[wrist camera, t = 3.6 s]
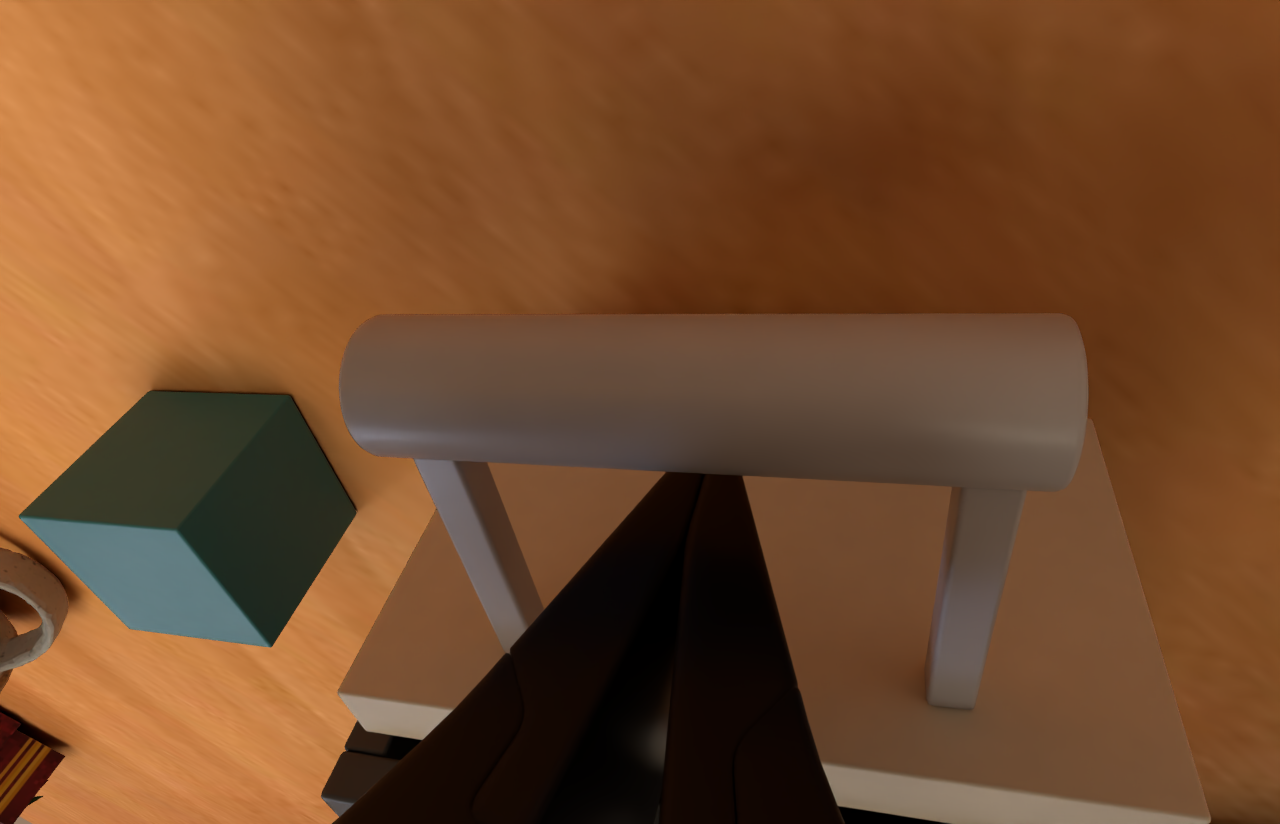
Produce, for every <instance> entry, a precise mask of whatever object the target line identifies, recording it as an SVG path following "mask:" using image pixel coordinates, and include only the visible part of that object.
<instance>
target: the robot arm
mask: <svg viewBox="0 0 1280 824" xmlns="http://www.w3.org/2000/svg"><path fill="white" fill-rule="evenodd" d="M661 792H662V793H661ZM660 796H661V803H660V814H659V824H845V822H844V820H843V818H842V815H841V813H840V810H839V808H838V805H837V803H836V800H835V797H834V795H833V792H832V790H831V787H830V784H829V782H828V779H827V777H826V774H825V771H824V769H823V766H822V764H821V760H820V757H819V754H818V751H817V747H816V744H815V741H814V738H813V734H812V731H811V728H810V725H809V721H808V718H807V714H806V710H805V707H804V703H803V699H802V695H801V692H800V690H799V688H798V682H797V678H796V674H795V670H794V667H793V663H792V659H791V655H790V652H789V648H788V644H787V640H786V637H785V633H784V629H783V626H782V622H781V618H780V614H779V611H778V607H777V603H776V599H775V596H774V592H773V588H772V584H771V581H770V577H769V573H768V569H767V566H766V562H765V558H764V555H763V551H762V547H761V543H760V540H759V536H758V532H757V528H756V525H755V521H754V517H753V513H752V510H751V506H750V502H749V498H748V495H747V491H746V487H745V484H744V480H743V476H740V475H721V474H702V473H683V472H665V473H664V475H663V476H662V477H661V478H660V479H659V480H658V481H657V483H656V484H655V485H654V486H653V487H652V488H651V489H650V490H649V492H648V493H647V494H646V495H645V496H644V497H643V498H642V500H641V501H640V502H639V503H638V504H637V505H636V506H635V507H634V509H633V510H632V511H631V512H630V513H629V514H628V515H627V516H626V518H625V519H624V520H623V521H622V522H621V523H620V524H619V526H618V527H617V528H616V529H615V530H614V531H613V532H612V533H611V535H610V536H609V537H608V538H607V539H606V540H605V541H604V542H603V544H602V545H601V546H600V547H599V548H598V549H597V550H596V552H595V553H594V554H593V555H592V556H591V557H590V558H589V559H588V561H587V562H586V563H585V564H584V565H583V566H582V567H581V568H580V570H579V571H578V572H577V573H576V574H575V575H574V576H573V578H572V579H571V580H570V581H569V582H568V583H567V584H566V585H565V587H564V588H563V589H562V590H561V591H560V592H559V593H558V595H557V596H556V597H555V598H554V599H553V600H552V601H551V602H550V604H549V605H548V606H547V607H546V608H545V609H544V610H543V611H542V613H541V614H540V615H539V616H538V617H537V618H536V619H535V621H534V622H533V623H532V624H531V625H530V626H529V627H528V628H527V630H526V631H525V632H524V633H523V634H522V635H521V636H520V637H519V639H518V640H517V641H516V642H515V643H514V644H513V645H512V647H511V648H510V654H509V653H505V654H504V655H503V656H502V657H501V659H500V660H499V661H498V662H497V663H496V664H495V665H494V667H493V668H492V669H491V670H490V671H489V672H488V673H487V674H486V676H485V677H484V678H483V679H482V680H481V681H480V682H479V683H478V684H477V685H476V686H475V687H474V688H473V689H472V691H471V692H470V693H469V694H468V695H467V696H466V697H465V698H464V699H463V700H462V701H461V702H460V703H459V704H458V706H457V707H456V708H455V709H454V710H453V711H452V712H451V713H450V714H449V715H448V716H446V717H445V718H444V719H443V720H442V721H441V722H440V723H439V724H438V725H437V726H436V727H435V728H434V729H433V730H432V731H431V732H430V733H429V734H428V735H427V736H426V737H425V738H424V739H423V740H422V741H421V742H420V743H419V744H418V745H416V746H415V747H414V748H413V749H412V750H411V751H410V752H409V753H408V754H407V755H406V756H405V757H404V758H402V759H401V760H400V761H399V762H398V763H397V764H396V765H395V766H394V767H393V768H392V769H391V770H390V771H388V772H387V773H386V774H385V775H384V776H383V777H382V778H381V779H380V780H379V781H378V782H377V783H376V784H374V785H373V786H372V787H371V788H370V789H369V790H368V791H367V792H366V793H365V794H364V795H363V796H361V797H360V798H359V799H358V800H357V801H356V802H355V803H354V804H353V805H352V806H351V807H350V808H349V809H347V810H346V811H345V812H344V813H343V814H342V815H341V816H340V817H339V818H338V819H337V820H336V821H334V822H333V823H332V824H654V821H655V816H656V812H657V808H658V804H659V800H660Z"/></svg>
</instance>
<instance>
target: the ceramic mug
mask: <svg viewBox="0 0 1280 824" xmlns="http://www.w3.org/2000/svg"><path fill="white" fill-rule="evenodd" d="M0 589H3V590H6V591H8V592H11V593H13V594H16V595H18V596H19V597H20V598H22V599H24V600H26V602H27V603H28V604H30V605H31V606H32V607H33V608H34V609H35V610H36V611H37V612H38V613H39V615H40V617H41V618H42V625H41V626H40V627H39V628H37V629H34V630H31V631H29V632H27V633H24V634H21V635H17V632H16V630H15V628H14V626H13V625H12V624H11V622H10V621H9V620H8V619H7V617H6V616H5V615H4V613H3V612H2V611H1V610H0V692H1V691H2V689H3V688H4V686H5V685H6V683H7V681H8V679H9V677H10V674H11V672H12V670H13V668H16V667H19V666H22V665H24V664H26V663H29V662H31V661H33V660H35V659H37V658H38V657H39V656H41V655H42V654H43V653H45V652H46V651H47V650H48V649H49V648H50V646H51V645H52V643H53V642H54V640H55V639H56V637H57V636H58V634H59V632H60V630H61V628H62V625H63V622H64V620H65V618H66V615H67V612H68V598H67V595H66V592H65V589H64V588H63V586H62V584H61V582H60V581H59V580H58V579H57V578H56V576H55V575H53V574H52V573H51V572H50V571H49V570H48V569H46V568H45V567H44V566H43V565H42V564H40V563H38V562H36V561H34V560H33V559H31V558H29V557H27V556H25V555H22V554H20V553H14V552H12V551H10V550H8V549H4V548H0Z"/></svg>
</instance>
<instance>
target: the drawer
mask: <svg viewBox="0 0 1280 824" xmlns="http://www.w3.org/2000/svg"><path fill="white" fill-rule="evenodd" d="M1088 397H1089V387H1088V368H1087V359H1086V352H1085V347H1084V343H1083V340H1082V336H1081V333H1080V330H1079V327H1078V325H1077V323H1076V322H1075V320H1074V319H1073V318H1072V317H1070V316H1068V315H1065V314H1062V313H918V314H385V315H377V316H374V317H372V318H370V319H368V320H366V321H365V322H364V323H362V324H361V325H360V326H359V327H358V328H357V329H356V330H355V332H354V333H353V335H352V336H351V338H350V340H349V342H348V344H347V346H346V349H345V351H344V355H343V358H342V363H341V368H340V376H339V398H340V405H341V410H342V414H343V418H344V421H345V424H346V426H347V428H348V431H349V433H350V434H351V436H352V438H353V439H354V440H355V442H356V443H357V444H358V445H359V446H360V447H361V448H363V449H364V450H366V451H367V452H369V453H371V454H373V455H376V456H381V457H397V458H413V459H414V461H415V464H416V466H417V468H418V470H419V472H420V474H421V476H422V478H423V481H424V483H425V485H426V487H427V489H428V491H429V493H430V495H431V497H432V500H433V502H434V504H435V506H436V508H437V509H436V510H435V512H434V514H433V516H432V518H431V520H430V522H429V523H428V525H427V527H426V529H425V531H424V533H423V534H422V536H421V538H420V540H419V542H418V544H417V546H416V547H415V549H414V551H413V553H412V555H411V557H410V558H409V560H408V562H407V564H406V566H405V568H404V570H403V571H402V573H401V575H400V577H399V579H398V581H397V582H396V584H395V586H394V588H393V590H392V592H391V594H390V595H389V597H388V599H387V601H386V603H385V605H384V606H383V608H382V610H381V612H380V614H379V616H378V618H377V619H376V621H375V623H374V625H373V627H372V629H371V630H370V632H369V634H368V636H367V638H366V640H365V642H364V643H363V645H362V647H361V649H360V651H359V653H358V654H357V656H356V658H355V660H354V662H353V664H352V666H351V667H350V669H349V671H348V673H347V675H346V677H345V678H344V680H343V682H342V684H341V686H340V688H339V689H338V695H339V697H340V698H341V699H342V700H343V702H344V703H345V704H346V706H347V707H348V708H349V710H350V711H351V712H352V714H353V715H354V716H355V717H356V719H357V720H358V721H359V723H360V724H361V725H362V727H363V728H364V729H365V730H366V731H369V732H375V733H382V734H388V735H394V736H401V737H407V738H413V739H420V740H423V739H424V738H425V737H426V736H427V735H428V734H429V733H430V732H431V731H432V730H433V729H434V728H435V727H436V726H437V725H438V724H439V723H440V722H441V721H442V720H443V719H444V718H445V717H446V716H448V715H449V714H450V713H451V712H452V711H453V710H454V709H455V708H456V707H457V706H458V704H459V703H460V702H461V701H462V700H463V699H464V698H465V697H466V696H467V695H468V694H469V693H470V692H471V691H472V689H473V688H474V687H475V686H476V685H477V684H478V683H479V682H480V681H481V680H482V679H483V678H484V677H485V676H486V674H487V673H488V672H489V671H490V670H491V669H492V668H493V667H494V665H495V664H496V663H497V662H498V661H499V660H500V659H501V657H502V656H503V655H504V654H505V653H509V654H510V648H511V647H512V645H513V644H514V643H515V642H516V641H517V640H518V639H519V637H520V636H521V635H522V634H523V633H524V632H525V631H526V630H527V628H528V627H529V626H530V625H531V624H532V623H533V622H534V621H535V619H536V618H537V617H538V616H539V615H540V614H541V613H542V611H543V610H544V609H545V608H546V607H547V606H548V605H549V604H550V602H551V601H552V600H553V599H554V598H555V597H556V596H557V595H558V593H559V592H560V591H561V590H562V589H563V588H564V587H565V585H566V584H567V583H568V582H569V581H570V580H571V579H572V578H573V576H574V575H575V574H576V573H577V572H578V571H579V570H580V568H581V567H582V566H583V565H584V564H585V563H586V562H587V561H588V559H589V558H590V557H591V556H592V555H593V554H594V553H595V552H596V550H597V549H598V548H599V547H600V546H601V545H602V544H603V542H604V541H605V540H606V539H607V538H608V537H609V536H610V535H611V533H612V532H613V531H614V530H615V529H616V528H617V527H618V526H619V524H620V523H621V522H622V521H623V520H624V519H625V518H626V516H627V515H628V514H629V513H630V512H631V511H632V510H633V509H634V507H635V506H636V505H637V504H638V503H639V502H640V501H641V500H642V498H643V497H644V496H645V495H646V494H647V493H648V492H649V490H650V489H651V488H652V487H653V486H654V485H655V484H656V483H657V481H658V480H659V479H660V478H661V477H662V476H663V475H664V473H665V472H683V473H702V474H721V475H740V476H743V480H744V484H745V487H746V491H747V495H748V498H749V502H750V506H751V510H752V513H753V517H754V521H755V525H756V528H757V532H758V536H759V540H760V543H761V547H762V551H763V555H764V558H765V562H766V566H767V569H768V573H769V577H770V581H771V584H772V588H773V592H774V596H775V599H776V603H777V607H778V611H779V614H780V618H781V622H782V626H783V629H784V633H785V637H786V640H787V644H788V648H789V652H790V655H791V659H792V663H793V667H794V670H795V674H796V678H797V682H798V688H799V690H800V692H801V695H802V699H803V703H804V707H805V710H806V714H807V718H808V721H809V725H810V728H811V731H812V734H813V738H814V741H815V744H816V747H817V751H818V754H819V757H820V760H821V764H822V766H823V769H824V771H825V774H826V777H827V779H828V782H829V784H830V787H831V790H832V792H833V795H834V797H835V800H836V803H837V805H838V808H839V810H840V813H841V815H842V818H843V820H844V822H845V824H1209V823H1210V822H1211V816H1210V813H1209V809H1208V806H1207V803H1206V799H1205V796H1204V793H1203V789H1202V786H1201V782H1200V779H1199V776H1198V772H1197V769H1196V766H1195V762H1194V759H1193V756H1192V752H1191V749H1190V746H1189V742H1188V739H1187V736H1186V732H1185V729H1184V725H1183V722H1182V719H1181V715H1180V712H1179V709H1178V705H1177V702H1176V699H1175V695H1174V692H1173V689H1172V685H1171V682H1170V679H1169V675H1168V672H1167V668H1166V665H1165V662H1164V658H1163V655H1162V652H1161V648H1160V645H1159V642H1158V638H1157V635H1156V632H1155V628H1154V625H1153V622H1152V618H1151V615H1150V611H1149V608H1148V605H1147V601H1146V598H1145V595H1144V591H1143V588H1142V585H1141V581H1140V578H1139V575H1138V571H1137V568H1136V565H1135V561H1134V558H1133V555H1132V551H1131V548H1130V544H1129V541H1128V538H1127V534H1126V531H1125V528H1124V524H1123V521H1122V518H1121V514H1120V511H1119V508H1118V504H1117V501H1116V498H1115V494H1114V491H1113V487H1112V484H1111V481H1110V477H1109V474H1108V471H1107V467H1106V464H1105V461H1104V457H1103V454H1102V451H1101V447H1100V444H1099V441H1098V437H1097V434H1096V430H1095V427H1094V424H1093V421H1092V419H1087V417H1088ZM661 793H662V792H661ZM659 803H661V796H660V800H659Z"/></svg>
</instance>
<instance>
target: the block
mask: <svg viewBox="0 0 1280 824" xmlns="http://www.w3.org/2000/svg"><path fill="white" fill-rule="evenodd" d="M356 513H357V512H356V510H355V508H354V507H353V505H352V503H351V501H350V500H349V498H348V496H347V494H346V493H345V491H344V489H343V487H342V486H341V484H340V482H339V480H338V479H337V477H336V475H335V473H334V472H333V470H332V468H331V466H330V465H329V463H328V461H327V459H326V458H325V456H324V454H323V452H322V451H321V449H320V447H319V445H318V444H317V442H316V440H315V438H314V437H313V435H312V433H311V431H310V430H309V428H308V426H307V424H306V423H305V421H304V419H303V417H302V416H301V414H300V412H299V410H298V409H297V407H296V405H295V403H294V402H293V400H292V398H291V397H290V396H289V395H267V394H234V393H201V392H168V391H149V392H147V393H146V394H145V395H144V396H143V397H142V398H141V399H140V400H139V401H138V402H137V403H136V404H135V405H134V406H133V407H132V408H131V409H130V410H129V411H128V412H126V413H125V414H124V415H123V416H122V417H121V418H120V419H119V420H118V421H117V422H116V423H115V424H114V425H113V426H112V427H111V428H110V429H109V430H108V431H107V432H106V433H104V434H103V435H102V436H101V437H100V438H99V439H98V440H97V441H96V442H95V443H94V444H93V445H92V446H91V447H90V448H89V449H88V450H87V451H86V452H85V453H84V454H82V455H81V456H80V457H79V458H78V459H77V460H76V461H75V462H74V463H73V464H72V465H71V466H70V467H69V468H68V469H67V470H66V471H65V472H64V473H63V474H62V475H60V476H59V477H58V478H57V479H56V480H55V481H54V482H53V483H52V484H51V485H50V486H49V487H48V488H47V489H46V490H45V491H44V492H43V493H42V494H41V495H40V496H38V497H37V498H36V499H35V500H34V501H33V502H32V503H31V504H30V505H29V506H28V507H27V508H26V509H25V510H24V511H23V512H22V513H21V514H20V515H19V518H20V519H21V520H22V521H23V522H24V523H25V524H26V525H27V526H28V527H29V528H30V529H31V530H32V531H33V532H34V533H35V534H36V535H37V536H38V537H39V538H40V539H41V540H42V541H43V542H44V543H45V544H46V545H47V546H48V547H49V548H50V549H51V550H52V551H53V552H54V553H55V554H56V555H57V556H58V557H59V558H60V559H61V560H62V561H63V562H64V563H65V564H66V565H67V566H68V567H69V568H70V570H71V571H72V572H73V573H74V574H75V575H76V576H77V577H78V578H79V579H80V580H81V581H82V582H83V583H84V584H85V585H86V586H87V587H88V588H89V589H90V590H91V591H92V592H93V593H94V594H95V595H96V596H97V597H98V598H99V599H100V600H101V601H102V602H103V603H104V604H105V605H106V606H107V607H108V608H109V609H110V610H111V611H112V612H113V613H114V614H115V615H116V616H117V617H118V618H119V619H120V620H121V621H122V622H123V623H124V624H125V625H126V626H127V627H128V628H129V629H134V630H141V631H149V632H157V633H164V634H172V635H179V636H187V637H195V638H202V639H210V640H218V641H225V642H233V643H240V644H248V645H256V646H263V647H272V646H273V644H274V643H275V641H276V640H277V638H278V636H279V635H280V633H281V632H282V630H283V629H284V627H285V625H286V624H287V622H288V621H289V619H290V618H291V616H292V614H293V613H294V611H295V610H296V608H297V607H298V605H299V603H300V602H301V600H302V599H303V597H304V596H305V594H306V592H307V591H308V589H309V588H310V586H311V585H312V583H313V581H314V580H315V578H316V577H317V575H318V574H319V572H320V570H321V569H322V567H323V566H324V564H325V563H326V561H327V559H328V558H329V556H330V555H331V553H332V552H333V550H334V548H335V547H336V545H337V544H338V542H339V541H340V539H341V537H342V536H343V534H344V533H345V531H346V530H347V528H348V526H349V525H350V523H351V522H352V520H353V519H354V517H355V515H356Z"/></svg>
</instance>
